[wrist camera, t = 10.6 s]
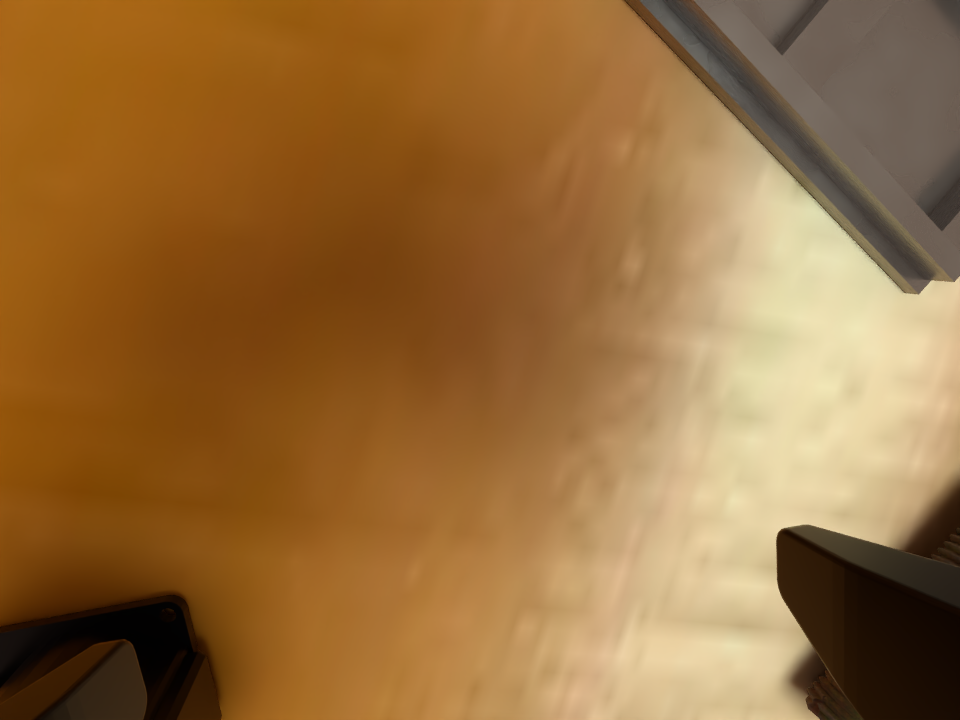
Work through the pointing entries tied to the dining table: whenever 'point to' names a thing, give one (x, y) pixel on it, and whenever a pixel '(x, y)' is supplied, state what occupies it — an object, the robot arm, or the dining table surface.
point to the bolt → (826, 694)
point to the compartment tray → (845, 110)
